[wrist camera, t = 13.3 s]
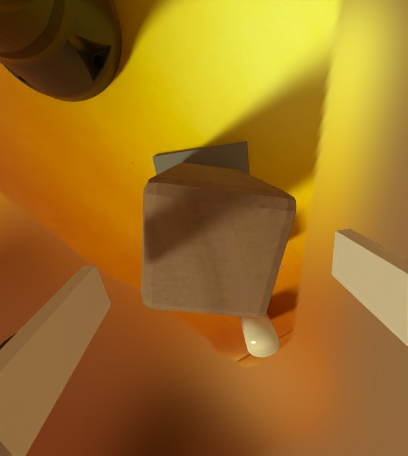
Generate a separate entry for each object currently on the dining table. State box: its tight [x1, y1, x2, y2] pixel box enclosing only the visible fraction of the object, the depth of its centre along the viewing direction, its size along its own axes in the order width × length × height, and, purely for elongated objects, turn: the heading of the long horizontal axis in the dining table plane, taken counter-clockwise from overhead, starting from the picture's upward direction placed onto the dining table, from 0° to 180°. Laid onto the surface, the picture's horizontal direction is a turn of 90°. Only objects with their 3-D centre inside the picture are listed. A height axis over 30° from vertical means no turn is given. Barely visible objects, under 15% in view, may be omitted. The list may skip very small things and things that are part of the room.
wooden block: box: [141, 163, 296, 318], centre depth 23 cm, size 10×10×20 cm
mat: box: [153, 141, 249, 175], centre depth 33 cm, size 14×14×1 cm
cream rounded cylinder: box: [240, 312, 280, 357], centre depth 38 cm, size 6×6×7 cm
